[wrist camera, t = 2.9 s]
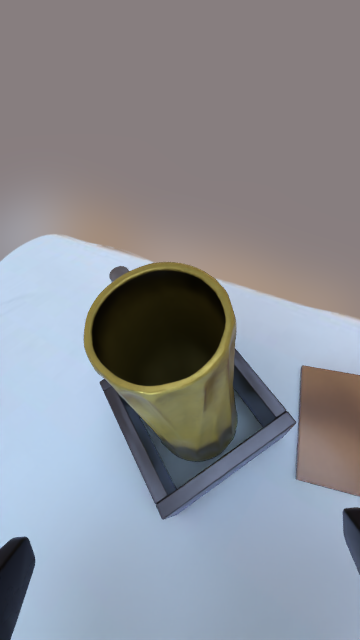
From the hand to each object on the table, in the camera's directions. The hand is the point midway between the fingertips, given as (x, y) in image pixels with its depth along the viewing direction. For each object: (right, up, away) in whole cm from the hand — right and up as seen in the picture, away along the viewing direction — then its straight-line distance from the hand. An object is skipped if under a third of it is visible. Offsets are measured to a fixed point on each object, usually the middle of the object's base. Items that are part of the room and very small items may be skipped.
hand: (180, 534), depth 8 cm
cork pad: (+12, -2, +12) cm, 17 cm away
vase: (+1, -1, +14) cm, 14 cm away
